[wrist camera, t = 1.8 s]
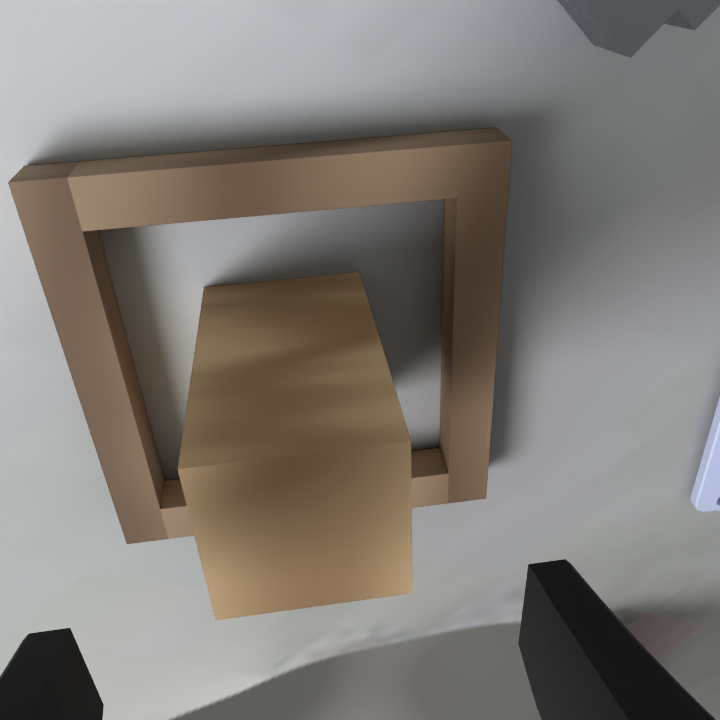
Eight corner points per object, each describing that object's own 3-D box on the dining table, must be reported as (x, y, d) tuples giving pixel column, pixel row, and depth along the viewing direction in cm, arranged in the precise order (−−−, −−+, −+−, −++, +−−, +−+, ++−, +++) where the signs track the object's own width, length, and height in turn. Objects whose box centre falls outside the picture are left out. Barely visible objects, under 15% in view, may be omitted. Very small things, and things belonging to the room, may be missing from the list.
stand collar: (495, 127, 16) (511, 140, 15) (475, 472, 22) (486, 498, 21) (24, 166, 15) (8, 182, 14) (133, 514, 21) (127, 544, 20)
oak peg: (359, 271, 18) (411, 441, 12) (366, 397, 20) (412, 593, 14) (204, 287, 17) (177, 469, 12) (227, 412, 20) (215, 620, 14)
